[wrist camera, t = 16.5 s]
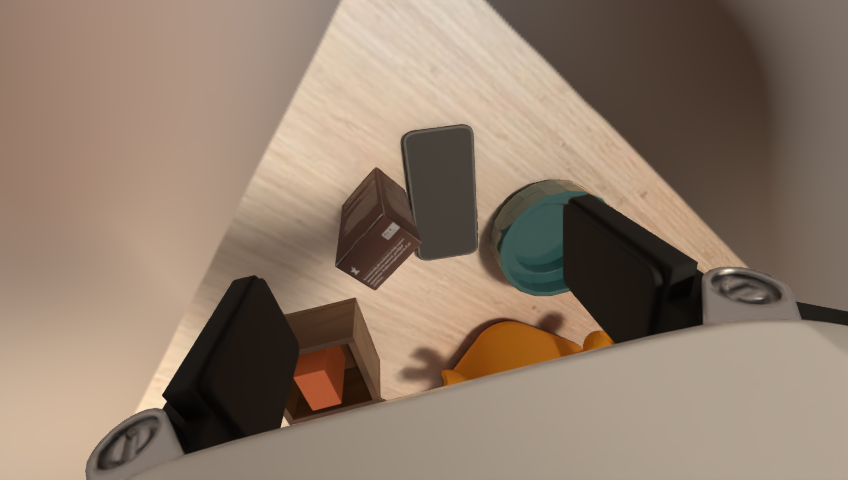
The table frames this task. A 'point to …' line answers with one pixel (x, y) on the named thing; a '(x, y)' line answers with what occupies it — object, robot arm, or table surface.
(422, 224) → the smartphone
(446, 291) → the table surface
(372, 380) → the holder bin
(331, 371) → the terracotta rectangular prism
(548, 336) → the holder
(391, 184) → the box
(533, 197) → the bowl
